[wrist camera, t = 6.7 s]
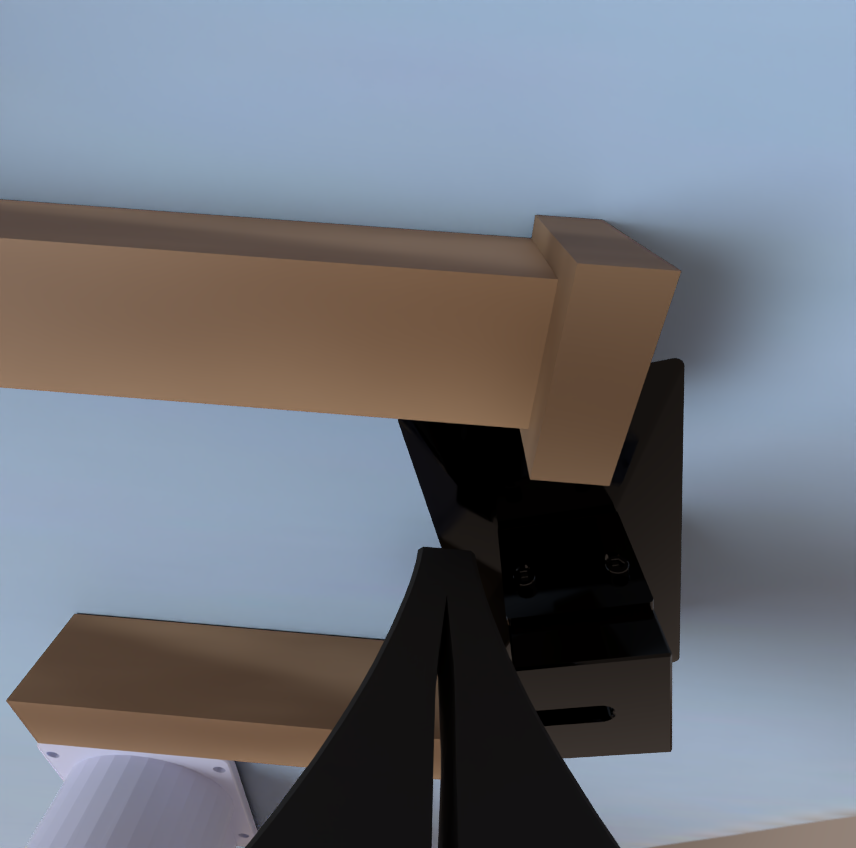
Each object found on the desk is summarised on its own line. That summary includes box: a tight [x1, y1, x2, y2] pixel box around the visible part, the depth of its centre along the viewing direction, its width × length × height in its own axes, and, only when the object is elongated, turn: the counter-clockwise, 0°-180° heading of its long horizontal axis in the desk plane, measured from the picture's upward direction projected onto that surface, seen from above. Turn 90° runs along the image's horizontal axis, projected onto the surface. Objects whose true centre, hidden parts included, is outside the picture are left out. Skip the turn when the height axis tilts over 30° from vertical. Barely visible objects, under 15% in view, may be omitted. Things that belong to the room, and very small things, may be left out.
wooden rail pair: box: [0, 199, 681, 779], centre depth 11 cm, size 16×14×4 cm
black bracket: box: [398, 358, 684, 758], centre depth 12 cm, size 12×7×5 cm, turn 15°
